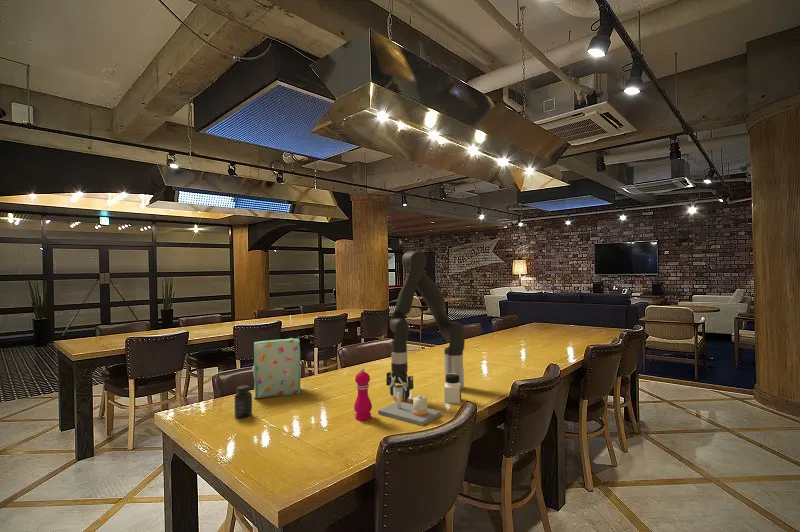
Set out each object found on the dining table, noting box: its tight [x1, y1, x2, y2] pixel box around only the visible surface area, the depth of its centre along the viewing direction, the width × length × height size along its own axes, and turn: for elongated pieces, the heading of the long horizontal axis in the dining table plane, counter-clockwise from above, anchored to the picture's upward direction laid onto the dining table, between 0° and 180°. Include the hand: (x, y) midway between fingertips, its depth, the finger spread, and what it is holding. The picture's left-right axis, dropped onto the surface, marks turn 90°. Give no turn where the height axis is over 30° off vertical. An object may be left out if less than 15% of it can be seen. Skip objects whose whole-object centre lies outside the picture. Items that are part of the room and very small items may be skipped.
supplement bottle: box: [233, 384, 253, 419], centre depth 163 cm, size 7×7×12 cm
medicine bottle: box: [443, 373, 462, 405], centre depth 178 cm, size 7×7×12 cm
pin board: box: [377, 392, 442, 426], centre depth 161 cm, size 14×22×9 cm, turn 52°
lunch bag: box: [251, 337, 302, 399], centre depth 194 cm, size 23×16×27 cm
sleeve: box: [392, 384, 408, 402], centre depth 181 cm, size 6×6×6 cm
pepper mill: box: [353, 367, 373, 422], centre depth 158 cm, size 7×7×20 cm
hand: (399, 396), depth 181 cm, fingers open, 8 cm apart
